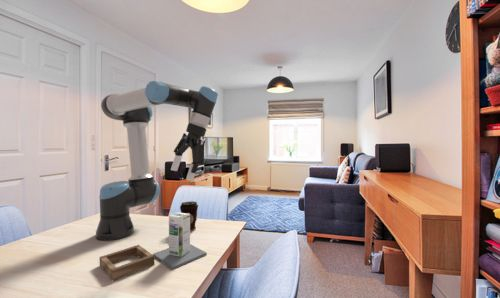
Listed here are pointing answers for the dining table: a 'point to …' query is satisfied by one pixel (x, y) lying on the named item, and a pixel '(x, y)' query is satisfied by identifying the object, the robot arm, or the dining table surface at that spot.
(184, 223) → the syrup box
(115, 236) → the robot arm
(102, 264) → the walnut holder
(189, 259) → the rubber mat
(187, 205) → the coffee cup
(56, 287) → the dining table surface
